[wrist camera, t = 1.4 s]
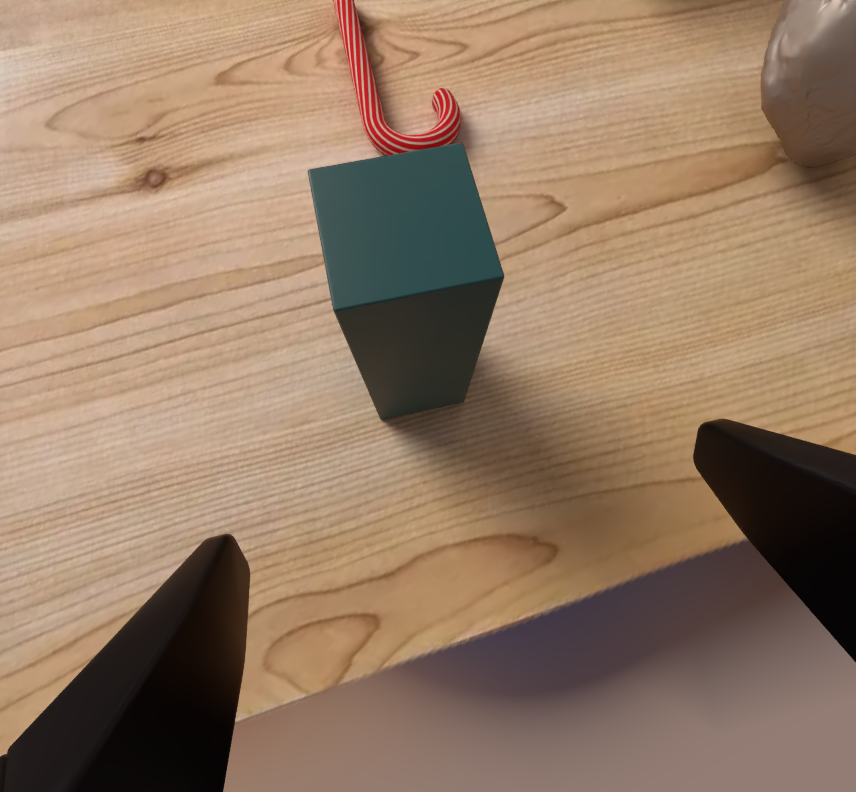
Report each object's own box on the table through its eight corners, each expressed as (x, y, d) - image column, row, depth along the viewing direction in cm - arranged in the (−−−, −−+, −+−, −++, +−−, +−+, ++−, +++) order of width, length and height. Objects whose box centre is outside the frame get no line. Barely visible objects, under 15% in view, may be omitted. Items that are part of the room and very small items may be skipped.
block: (464, 402, 23) (505, 276, 11) (380, 420, 22) (333, 311, 11) (444, 326, 24) (462, 141, 12) (364, 342, 23) (307, 168, 12)
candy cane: (415, -7, 31) (415, -33, 30) (470, 156, 27) (473, 136, 25) (332, 6, 31) (327, -19, 29) (375, 174, 26) (372, 155, 25)
